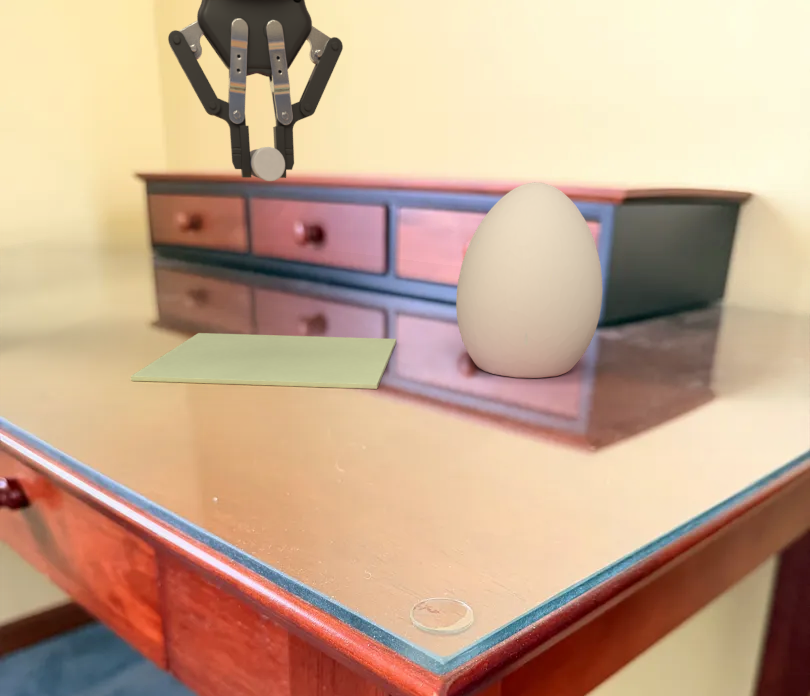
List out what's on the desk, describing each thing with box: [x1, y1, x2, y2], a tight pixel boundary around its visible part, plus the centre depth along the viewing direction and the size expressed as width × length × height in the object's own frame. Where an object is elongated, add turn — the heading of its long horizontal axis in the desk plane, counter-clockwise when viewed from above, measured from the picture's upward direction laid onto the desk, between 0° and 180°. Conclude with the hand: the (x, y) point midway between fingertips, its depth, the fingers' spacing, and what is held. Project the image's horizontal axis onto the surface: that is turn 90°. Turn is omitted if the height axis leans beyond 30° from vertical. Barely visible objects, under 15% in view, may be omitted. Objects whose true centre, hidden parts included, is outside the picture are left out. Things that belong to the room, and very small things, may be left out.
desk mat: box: [130, 332, 397, 390], centre depth 74 cm, size 20×18×1 cm
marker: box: [250, 146, 285, 182], centre depth 66 cm, size 12×2×2 cm, turn 13°
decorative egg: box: [455, 182, 603, 379], centre depth 69 cm, size 12×12×15 cm
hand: (263, 176), depth 66 cm, fingers closed on marker, 2 cm apart
